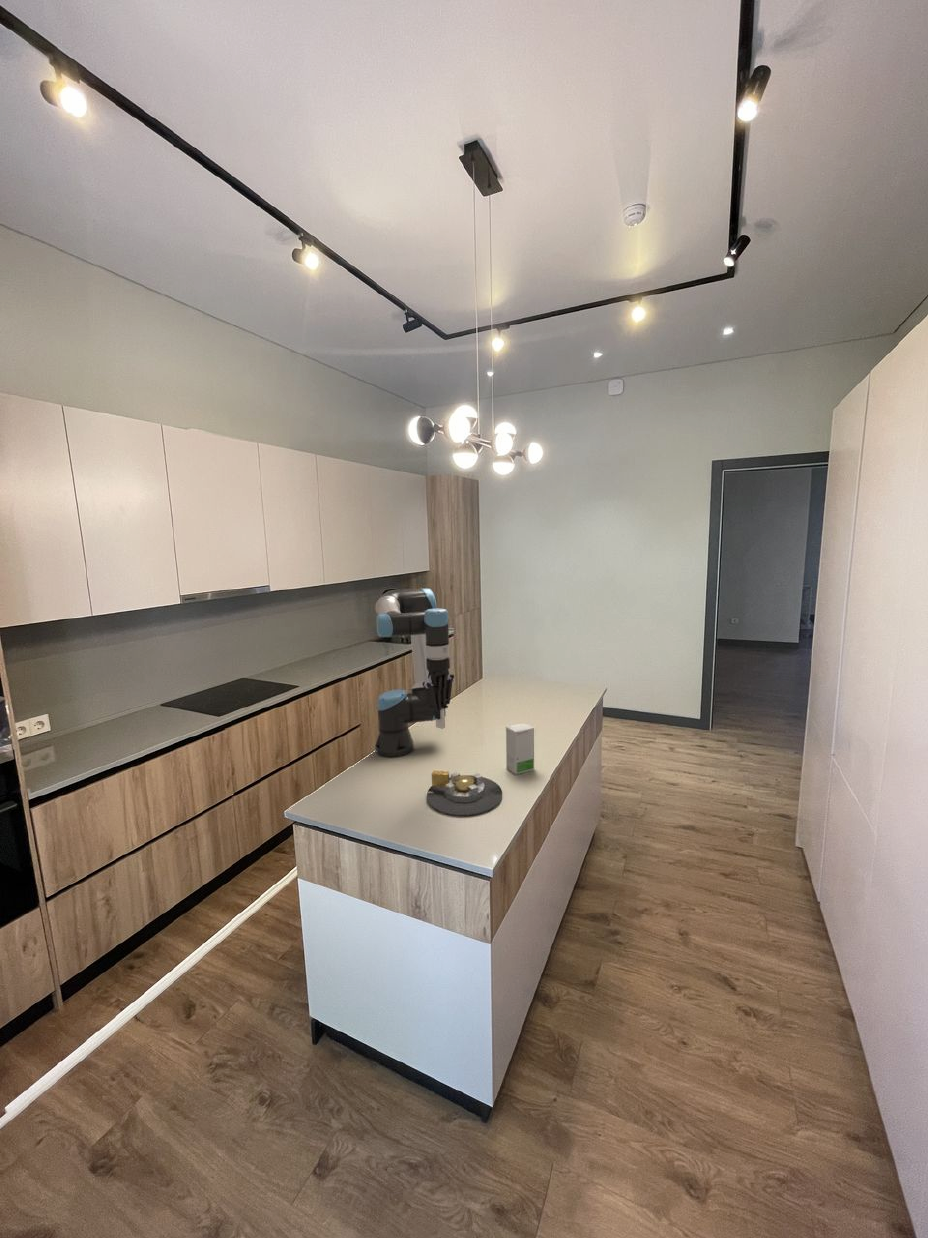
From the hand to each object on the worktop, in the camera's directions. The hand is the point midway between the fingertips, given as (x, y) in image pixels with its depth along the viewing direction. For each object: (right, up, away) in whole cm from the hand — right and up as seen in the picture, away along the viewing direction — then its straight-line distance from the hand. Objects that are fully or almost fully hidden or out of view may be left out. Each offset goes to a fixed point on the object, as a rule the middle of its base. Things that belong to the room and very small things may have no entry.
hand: (440, 727), depth 157 cm
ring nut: (+6, -20, -4) cm, 21 cm away
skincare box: (+28, -18, +14) cm, 36 cm away
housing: (+8, -21, -4) cm, 23 cm away
